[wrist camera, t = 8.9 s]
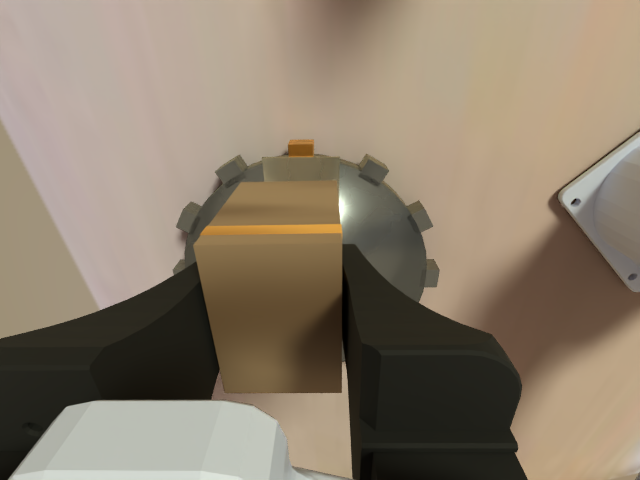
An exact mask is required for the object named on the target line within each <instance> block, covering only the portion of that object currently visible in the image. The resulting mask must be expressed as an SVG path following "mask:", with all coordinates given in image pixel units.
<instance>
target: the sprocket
mask: <svg viewBox="0 0 640 480" xmlns="http://www.w3.org/2000/svg"><path fill="white" fill-rule="evenodd" d="M288 152H289V154H288V155H281V156H277V157H262V161H259V162H257V163H254V164H251V165H250V166H247V165H246V163H245V162H244V160H243V159H242V157H241V156H240V155H238V156H236V157H235V158H233V159H232V160H230V161H228V162H227V163H225V164H224V165H222V166H221V167H220V168H219V169H218V170H217V171H215V173H216V174H217V176H218V177H219V178H220V180H221V181H222V182H223V184H222V185H221V186H220V187H219V188H218V189H217V190H216V191H214V193H213V194H212V195H211V196H210V197H209V198H208V199H207V201H206V202H205V203H204V205H203V206H200V205H198V204H196V203H193V202H190V203H189V204H188V205H187V206H186V207H185V208H184V209H183V211H182V213H181V216H180V218H179V221H178V223H177V226H176V227H177V228H179V229H181V230H183V231H185V232H187V233H189V234H188V237H187V242H186V248H185V260H180V261H179V262H178V264H177V265H176V266H175V268H174V269H173V273H174V275H175V274H177V273H179V272H180V271H182V270H184V269H185V268H187V267H188V266H190V265H191V264H193V263H194V262H196V256H195V252H194V247H193V245H194V243H195V242H196V241H197V240H198V238H199V237H200V234H201V232H202V231H203V230H204V228H205V227H206V226H208V225H209V224H210V222H211V221H212V220H213V218H214V217H215V216H216V214H217V213H218V212H219V210H220V209H221V208H222V206H223V205H224V204H225V203H226V201H227V200H228V199H229V197H230V196H231V195H232V193H233V192H234V191H235V189H236V188H237V187H238V185H239V184H240V183H241V182H275V181H327V180H337V189H338V200H339V212H340V223H341V225H342V244H355V245H356V246H357V247H358V248H359V250H360V251H361V252H362V254H363V255H364V256H365V257H366V259H367V260H368V261H369V262H370V263H371V264H372V266H373V267H374V268H375V269H376V270H377V271H378V272H379V273H380V274H381V275H382V276H383V277H384V278H385V279H386V280H387V281H388V282H390V283H391V284H392V285H393V286H394V287H396V288H397V289H398V290H400V291H401V292H403V293H404V294H405V295H407V296H408V297H410V298H411V299H413V300H414V301H416V302H418V303H419V300H420V298H421V295H422V293H423V289H424V287H437V282H438V276H439V268H438V266H437V264H436V262H435V261H434V259H426V250H425V246H424V242H423V238H422V235H421V232H423V231H425V230H427V229H429V228H431V227H433V225H432V223H431V221H430V219H429V217H428V215H427V213H426V210H425V208H424V207H423V206H422V204H421V203H420V201H417V202H415V203H413V204H411V205H409V206H406V205H405V203H404V202H403V200H402V199H401V198H400V197H399V196H398V194H397V193H396V192H395V191H394V190H393V189H392V188H391V187H390V186H389V185H388V184H386V183H385V182H384V181H383V179H384V178H385V176H386V175H387V173H388V172H389V170H388V168H387V167H386V165H385V164H383V163H381V162H380V161H378V160H376V159H375V158H373V157H371V156H370V155H368V154H366V155H365V156H364V158H363V160H362V161H361V163H360V164H359V166H358V165H356V164H354V163H351V162H348V161H345V160H342V159H340V157H331V156H326V155H320V154H314V140H290V142H289V144H288ZM343 361H345V356H344V349H343V343H342V362H343Z"/></svg>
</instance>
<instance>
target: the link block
mask: <svg viewBox="0 0 640 480" xmlns="http://www.w3.org/2000/svg"><path fill="white" fill-rule="evenodd" d="M193 247H194V252H195V256H196V261H197V266H198V270H199V275H200V280H201V284H202V289H203V294H204V298H205V303H206V308H207V312H208V317H209V321H210V326H211V331H212V335H213V340H214V345H215V349H216V354H217V359H218V363H219V368H220V373H221V377H222V382H223V387H224V391H225V393H342V225H341V223H340V212H339V200H338V189H337V180H327V181H275V182H241V183H240V184H239V185H238V187H237V188H236V189H235V191H234V192H233V193H232V195H231V196H230V197H229V199H228V200H227V201H226V203H225V204H224V205H223V206H222V208H221V209H220V210H219V212H218V213H217V214H216V216H215V217H214V218H213V220H212V221H211V222H210V224H209V225H208V226H206V227H205V228H204V230H203V231H202V232H201V234H200V237H199V238H198V240H197V241H196V242H195V243H194V245H193Z"/></svg>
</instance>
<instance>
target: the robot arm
mask: <svg viewBox="0 0 640 480" xmlns="http://www.w3.org/2000/svg"><path fill="white" fill-rule="evenodd" d="M558 199H559V201H560V203H561V204H562V205H563V206H564V208H565V209H566V210H567V211H568V213H569V214H570V215H571V216H572V218H573V219H574V220H575V222H576V223H577V224H578V225H579V227H580V228H581V229H582V230H583V232H584V233H585V234H586V235H587V237H588V238H589V239H590V240H591V242H592V243H593V244H594V246H595V247H596V248H597V249H598V251H599V252H600V253H601V254H602V256H603V257H604V258H605V259H606V261H607V262H608V263H609V265H610V266H611V267H612V268H613V270H614V271H615V272H616V273H617V275H618V276H619V277H620V278H621V280H622V281H623V282H624V283H625V285H626V286H627V287H628V288H629V289H630V290H632V291H633V292H640V132H638V133H637V134H636V135H634V136H633V137H632V138H630V139H629V140H628V141H626V142H625V143H623V144H622V145H621V146H619V147H618V148H617V149H615V150H614V151H613V152H611V153H610V154H609V155H607V156H606V157H605V158H603V159H602V160H601V161H599V162H598V163H597V164H595V165H594V166H593V167H591V168H590V169H589V170H587V171H586V172H585V173H583V174H582V175H581V176H579V177H578V178H577V179H575V180H574V181H573V182H571V183H570V184H569V185H567V186H566V187H565V188H563V189H562V190H561V191H560V193H559V195H558ZM574 199H576V201H575V203H573V204H571V202H572V201H573V200H574ZM629 275H630V276H629ZM342 343H343V349H344V356H345V362H346V369H347V378H348V395H349V414H350V434H351V455H352V477H353V479H349V478H345V477H340V476H336V475H331V474H326V473H322V472H317V471H313V470H308V469H304V468H299V467H294V466H291V463H290V460H289V453H288V443H287V438H286V436H285V434H284V433H283V431H282V429H281V427H280V425H279V423H278V421H277V420H276V419H275V418H273V417H272V416H270V415H268V414H267V413H265V412H264V411H262V410H260V409H259V408H257V407H255V406H254V405H251V404H246V403H240V402H234V401H229V400H211V398H212V394H213V390H214V386H215V382H216V379H217V376H218V373H219V370H220V368H219V363H218V359H217V354H216V349H215V345H214V340H213V335H212V331H211V326H210V321H209V317H208V312H207V308H206V303H205V298H204V294H203V289H202V284H201V280H200V275H199V270H198V266H197V261H196V262H194V263H193V264H191V265H190V266H188V267H187V268H185V269H184V270H182V271H180V272H179V273H177V274H175V275H174V276H172V277H170V278H169V279H167V280H165V281H163V282H162V283H160V284H158V285H156V286H154V287H153V288H151V289H149V290H147V291H145V292H143V293H140V294H138V295H136V296H134V297H132V298H130V299H127V300H125V301H123V302H120V303H118V304H115V305H113V306H110V307H107V308H105V309H102V310H100V311H97V312H95V313H92V314H89V315H86V316H83V317H80V318H77V319H74V320H70V321H67V322H64V323H60V324H57V325H54V326H50V327H46V328H42V329H38V330H34V331H30V332H26V333H22V334H18V335H14V336H10V337H5V338H1V339H0V480H528V479H527V477H526V475H525V473H524V471H523V469H522V467H521V465H520V463H519V461H518V459H517V457H516V454H515V452H517V450H518V445H517V442H516V440H515V438H514V436H513V434H512V432H511V430H510V426H511V423H512V420H513V418H514V415H515V412H516V409H517V406H518V403H519V400H520V397H521V390H522V384H521V380H520V376H519V374H518V372H517V370H516V369H515V367H514V366H513V364H512V362H511V361H510V359H509V358H508V356H507V354H506V353H505V351H504V350H503V349H502V347H501V346H500V345H499V343H498V342H497V341H496V339H495V338H494V337H493V335H491V334H489V333H486V332H483V331H480V330H477V329H474V328H472V327H469V326H466V325H463V324H460V323H458V322H456V321H453V320H451V319H449V318H447V317H444V316H442V315H440V314H438V313H436V312H434V311H432V310H430V309H428V308H426V307H425V306H423V305H421V304H420V303H418V302H416V301H414V300H413V299H411V298H410V297H408V296H407V295H405V294H404V293H403V292H401V291H400V290H398V289H397V288H396V287H394V286H393V285H392V284H391V283H390V282H388V281H387V280H386V279H385V278H384V277H383V276H382V275H381V274H380V273H379V272H378V271H377V270H376V269H375V268H374V267H373V266H372V264H371V263H370V262H369V261H368V260H367V259H366V257H365V256H364V255H363V254H362V252H361V251H360V250H359V248H358V247H357V246H356V245H355V244H342ZM635 480H640V473H639V474H638V475H637V477H636V479H635Z"/></svg>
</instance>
